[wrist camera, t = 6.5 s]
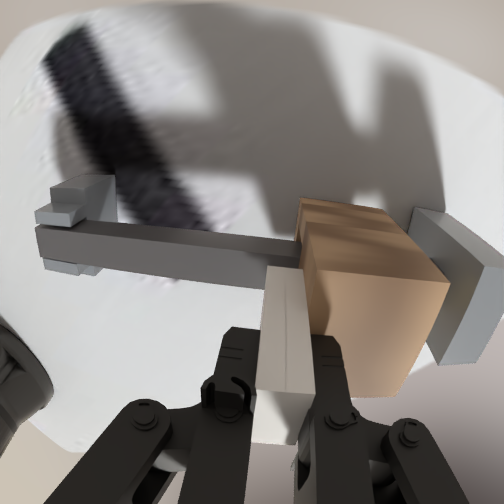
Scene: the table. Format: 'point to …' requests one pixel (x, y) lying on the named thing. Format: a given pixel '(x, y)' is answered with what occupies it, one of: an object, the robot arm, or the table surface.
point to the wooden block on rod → (367, 291)
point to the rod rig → (264, 258)
